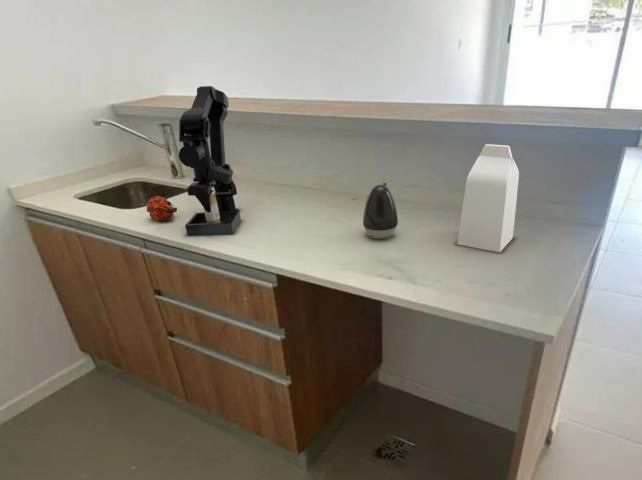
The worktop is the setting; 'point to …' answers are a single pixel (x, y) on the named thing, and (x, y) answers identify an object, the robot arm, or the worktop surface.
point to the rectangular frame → (213, 224)
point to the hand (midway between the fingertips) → (211, 209)
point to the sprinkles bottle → (213, 210)
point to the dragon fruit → (160, 208)
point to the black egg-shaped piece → (380, 213)
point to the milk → (490, 200)
